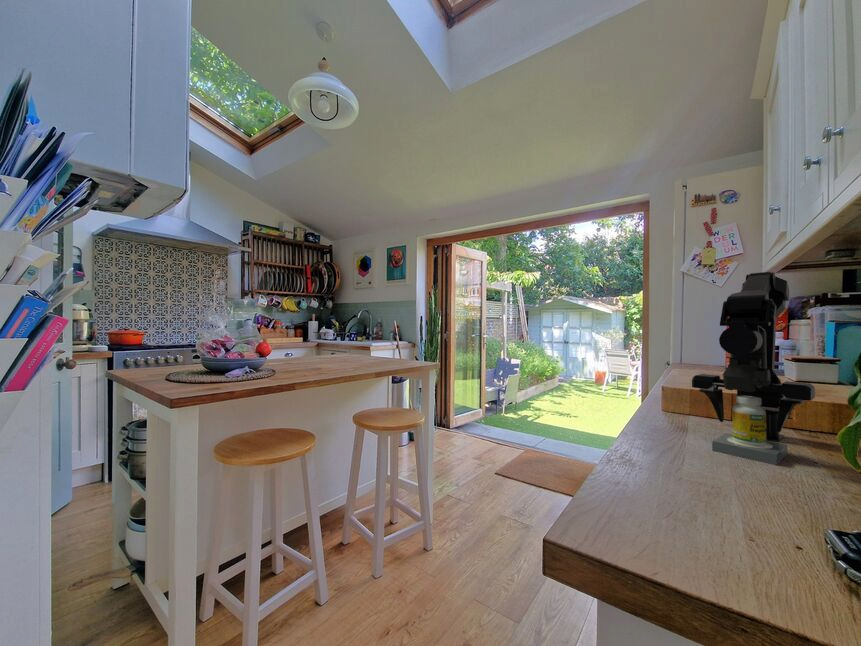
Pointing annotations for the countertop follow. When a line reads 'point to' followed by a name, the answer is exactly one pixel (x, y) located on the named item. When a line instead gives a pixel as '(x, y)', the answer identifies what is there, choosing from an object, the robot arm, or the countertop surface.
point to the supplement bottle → (749, 421)
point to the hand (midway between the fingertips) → (748, 426)
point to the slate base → (750, 449)
